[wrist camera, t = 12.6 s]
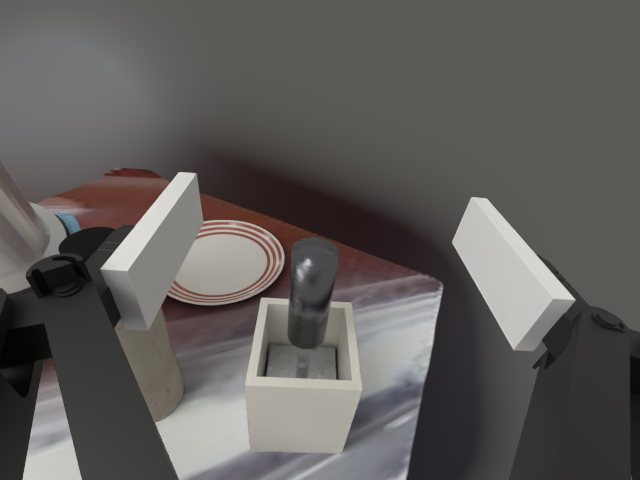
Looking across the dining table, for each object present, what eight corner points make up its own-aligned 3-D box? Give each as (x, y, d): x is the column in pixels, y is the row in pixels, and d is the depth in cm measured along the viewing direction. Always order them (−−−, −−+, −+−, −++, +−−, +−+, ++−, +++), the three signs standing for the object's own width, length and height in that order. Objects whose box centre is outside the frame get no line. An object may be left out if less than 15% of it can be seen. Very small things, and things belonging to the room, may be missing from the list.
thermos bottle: (171, 360, 50) (124, 208, 34) (193, 399, 46) (151, 246, 29) (115, 391, 46) (29, 232, 29) (133, 437, 41) (44, 281, 25)
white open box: (250, 451, 41) (244, 385, 32) (262, 367, 51) (261, 297, 42) (341, 453, 42) (362, 390, 33) (336, 370, 52) (351, 302, 42)
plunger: (261, 414, 38) (258, 282, 26) (270, 348, 46) (271, 220, 33) (337, 417, 39) (371, 289, 26) (333, 351, 46) (358, 227, 34)
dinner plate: (301, 247, 78) (302, 236, 76) (247, 333, 56) (246, 321, 54) (203, 220, 83) (202, 209, 81) (119, 289, 62) (114, 276, 60)
